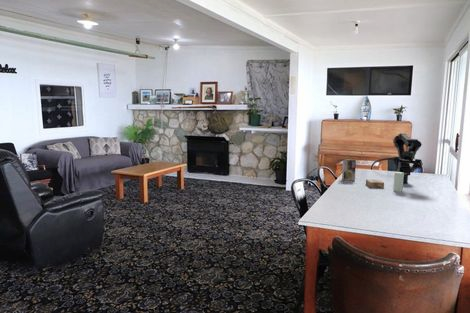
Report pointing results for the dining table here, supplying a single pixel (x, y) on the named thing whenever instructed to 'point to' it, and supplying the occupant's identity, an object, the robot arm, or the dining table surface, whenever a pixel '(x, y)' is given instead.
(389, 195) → the dining table surface
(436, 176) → the dining table surface
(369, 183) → the walnut base block
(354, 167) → the coffee box
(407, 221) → the dining table surface
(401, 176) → the sage block
